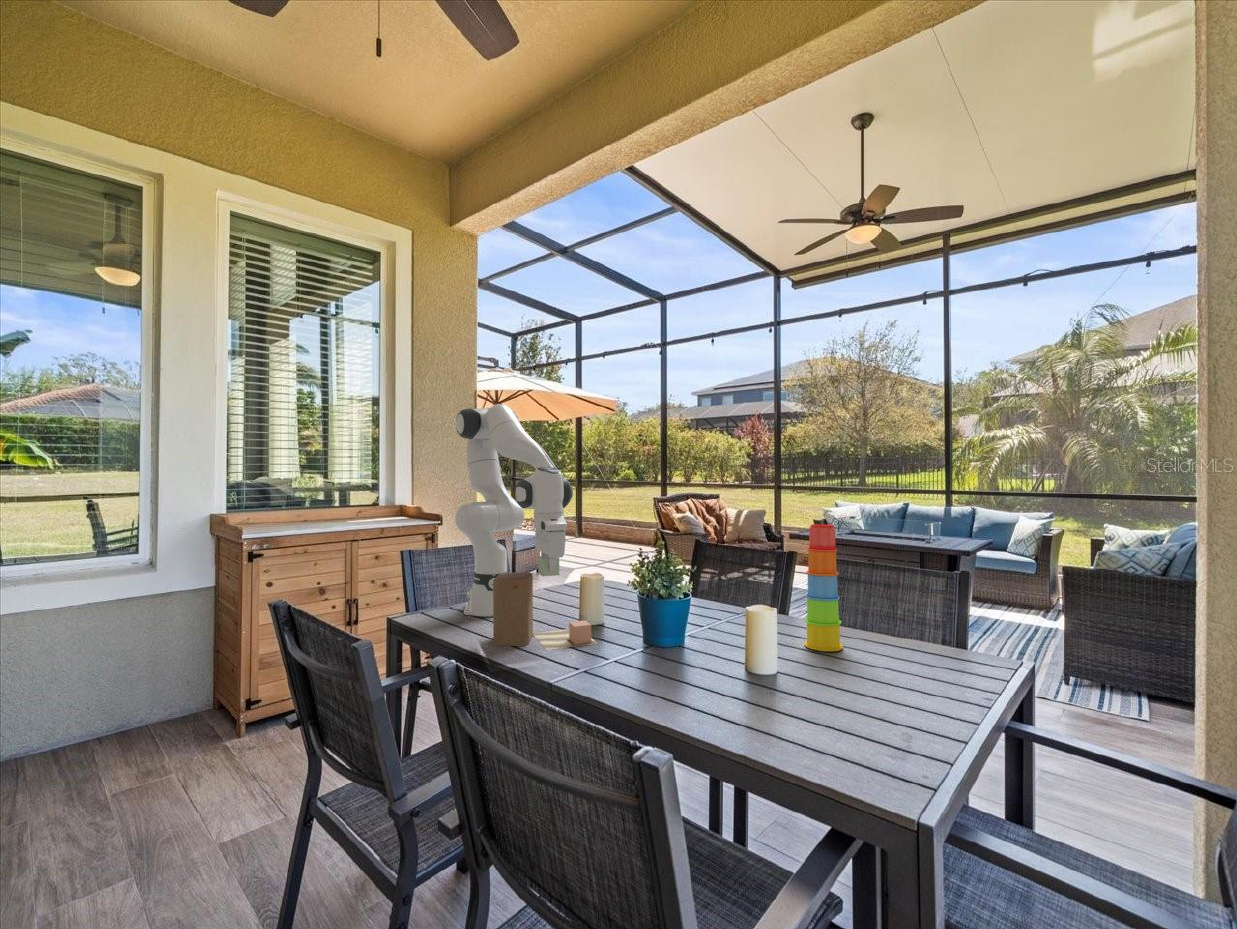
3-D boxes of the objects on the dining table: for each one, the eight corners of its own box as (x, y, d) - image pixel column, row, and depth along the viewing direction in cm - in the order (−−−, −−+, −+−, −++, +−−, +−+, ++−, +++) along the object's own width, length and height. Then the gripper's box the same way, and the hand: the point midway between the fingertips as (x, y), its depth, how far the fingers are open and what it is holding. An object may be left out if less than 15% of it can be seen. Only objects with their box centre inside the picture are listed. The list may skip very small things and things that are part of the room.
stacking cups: (797, 646, 165) (797, 524, 165) (816, 639, 172) (815, 522, 172) (831, 655, 158) (830, 527, 158) (849, 647, 165) (849, 525, 165)
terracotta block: (569, 639, 169) (569, 622, 169) (585, 637, 170) (585, 620, 170) (574, 644, 164) (574, 626, 164) (591, 642, 166) (591, 624, 166)
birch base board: (531, 637, 175) (531, 633, 175) (579, 631, 181) (579, 627, 181) (546, 654, 159) (546, 649, 159) (598, 647, 165) (598, 643, 165)
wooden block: (528, 649, 163) (528, 578, 163) (492, 650, 163) (492, 578, 163) (533, 639, 173) (533, 571, 173) (499, 639, 173) (499, 572, 173)
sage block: (538, 573, 174) (538, 556, 174) (554, 572, 176) (554, 555, 176) (542, 576, 169) (542, 559, 169) (559, 575, 171) (559, 558, 171)
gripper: (529, 519, 181) (530, 563, 181) (547, 525, 162) (547, 575, 162) (549, 518, 183) (549, 562, 183) (569, 524, 165) (569, 573, 165)
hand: (548, 568), depth 173 cm, fingers closed on sage block, 5 cm apart
